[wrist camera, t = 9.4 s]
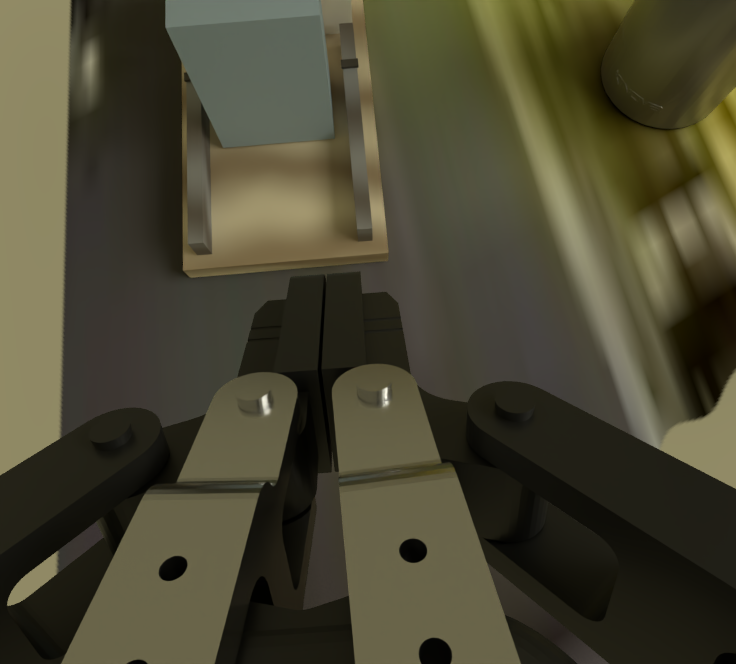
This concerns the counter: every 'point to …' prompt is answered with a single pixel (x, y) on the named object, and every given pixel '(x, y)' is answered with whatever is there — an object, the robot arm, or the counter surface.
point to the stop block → (335, 14)
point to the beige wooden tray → (288, 182)
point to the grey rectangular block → (256, 67)
